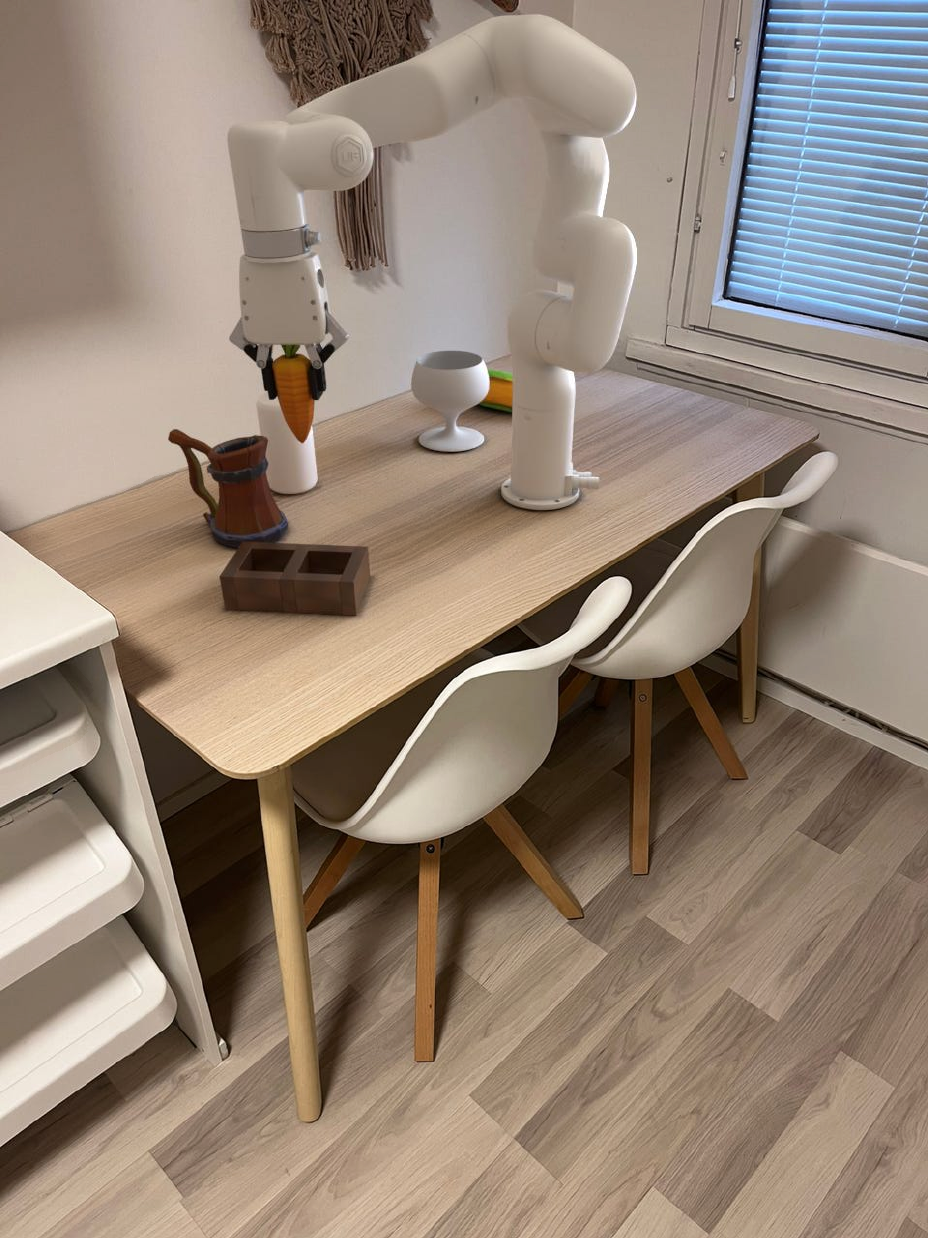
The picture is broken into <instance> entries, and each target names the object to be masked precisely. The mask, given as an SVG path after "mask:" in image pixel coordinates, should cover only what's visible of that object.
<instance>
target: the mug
mask: <svg viewBox="0 0 928 1238" xmlns="http://www.w3.org/2000/svg"><path fill="white" fill-rule="evenodd" d="M167 440H168V441H169V442H170V443H171V444H173V445H177V446H178V447H179V448H180V449H181V451H182V452H183V455H184V457H185V459H186V464H187V468H188V475H189V476H188V477H189V478H188V479H189V484H190V487H191V489H192V491H193V492H194V494H195V495H196V496H197V497H199V498H200V499H201V500H203V501H204V503H205V504H206V505H207V507H208V509H209V512H210V513H209V512H206V511H205V512H204V513H203V514H202V516H203V518H204V520H205V522H206V523H208V524H209V527H210V530H211V534H212V536H213V538H214V540H215V541H216V542H218V543H219V544H222V545H225V546H227V547H232V548H235V549H238V548H239V546H240V545H241V543H242V542H267V543H276V542H277V541H280V540H281V539H282V538H283V536H284V535H285V533H286V532H287V531H288V529H289V521H288V519H287V516H286V514H285V512H284V511H283V510H281V509H280V507H279V505H278V504H277V502H276V500H275V498H274V496H273V494H272V492H271V488H270V487H269V484H268V480H267V476H266V470H267V467H268V461H267V459H266V456H265V455H266V449H267V444H268V439H267V437H264V436H261V435H259V434H254V435H251V436H242V437H236V438H233V439H229V440H226V441H223V442H221V443H219V444H216V445H215V446H213V447H211V446H209V445H208V444H207V443H205V442H204V441H201V440H199V439H197V438H194V437H192V436H190V435H188V434H186V433H185V432H183V431H181V430H180V429H178V428H174V429H172V430H171V431H169V433H168V438H167ZM192 449H193V450H195V451H198V452H200V453H202V454H203V455H205V457H206V458H207V459H208V461H209V463H210V464H208V465H206V472H207V474H210V476H211V478H212V480H214V481H215V482H216V483H217V484H218V485H217V486H218V502H217V501H216V500H215V498H214V497H213V496H212V494H211V493H210V492H209V491H208V490H207V488H206V486H205V483H204V482H205V480H204V474H203V469H202V466H201V463H200V460H199V458H198V457H197V455H196V454H195V452H194V451H193V450H192Z"/></svg>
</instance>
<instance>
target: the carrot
mask: <svg viewBox="0 0 928 1238" xmlns="http://www.w3.org/2000/svg"><path fill="white" fill-rule="evenodd" d="M280 346H281V348H282V351H283V353H284V354H281V355H280V356H278V357H277V358H275V359H273V363H272V369H273V375H274V381H275V387H276V392H277V397H278V400H279V404H280V407H281V410H282V412H283V415H284V418H285V421H286V422H287V424H288V426H289V428H290V430H291V431H292V433H293V434H294V436H295V437H296V439H297V440H298V441H299V442H301V443H304V442H305V441H306V439H307V437H308V435H309V432H310V429H311V426H312V427H313V421H314V414H315V402H316V400H314V399H312V393H311V385H310V377H309V369H310V368H311V360H310V358H309V357H307V356H306V355H304V354H303V353H298V351H299V350H300V348H301V345H280Z"/></svg>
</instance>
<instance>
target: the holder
mask: <svg viewBox="0 0 928 1238" xmlns="http://www.w3.org/2000/svg"><path fill="white" fill-rule="evenodd" d="M370 566H371V565H370V554H369V546H363V545H362V546H361V545H338V544H335V545H334V544H314V543H312V544H310V543H309V544H308V543H291V542H290V543H288V542H273V543H267V542H242V543H241V545H240V546H239V548H236V550H235V552H234V554H233V555H232V556H231V558H230V560H229V561H228V563H227V564H226V566H225V567H224V569H223V570H222V572H221V573H220V575H219V582H220V588H221V592H222V593H221V594H222V600H223V605H224V609H225V610H226V611H247V612H248V611H250V612H251V611H252V612H268V613H269V612H270V613H291V614H292V613H293V614H312V615H314V614H315V615H336V616H353V617H354V616H357V615H358V613H359V610H360V607H361V605H362V601H363V600H364V596H365V595H366V594H365V593H366V591H367V588H368V586H369V583H370V580H371V569H370V568H371V567H370Z"/></svg>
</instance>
